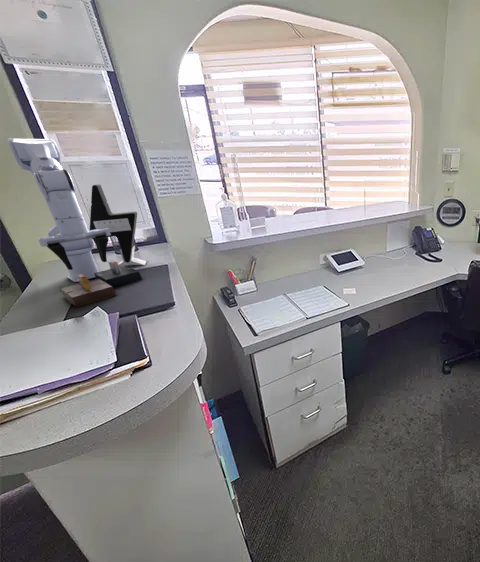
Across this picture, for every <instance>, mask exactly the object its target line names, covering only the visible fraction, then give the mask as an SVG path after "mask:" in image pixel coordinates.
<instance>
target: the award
mask: <svg viewBox="0 0 480 562" xmlns="http://www.w3.org/2000/svg"><path fill="white" fill-rule="evenodd" d="M90 196H91V197H90V199H91V200H90V204H91V205H90V215H89V230H96V229H104V228H108V229H109V231H110V234H111V235H109V236H107V237H108V238H111V237H116V239H117V241H118V244H119V248H120V249H119V253H120V255H121V256H120V257H121V259H122V260H120V261H119V262H117V263H118V265H119V267H122V266H128V265H135V266H145V265H146V263H147V261H146V260H144V259H141V258H136V257H135V249H136V245H135V238H136V236H135V235H136V228H137V221H138V212H137V211H128V212H127V211H126V212H118V213H113V212H112V211H111V208H110V206H109V203H108V200H107V198H106V195H105V193H104V190H103V188H102V185H101V184H99V183H98V184H93V185H92V186H91V195H90ZM92 240H93V238H92Z"/></svg>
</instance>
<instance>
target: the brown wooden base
mask: <svg viewBox="0 0 480 562" xmlns="http://www.w3.org/2000/svg"><path fill="white" fill-rule="evenodd" d="M88 281H89V283H90V285H91V289H87V290H86V289H85V288H83V287H82V286H81V285H80V283H78V284H74V285H70V286H69V285H68V286H66V287H62V288H60V292H61V293H62V295H63V297H64V299H65V300H67V302H69V303H70V304H72V305H73V306H74V307H75V308H79V307H83V306H87V305H89V304H92V303H97V302H100V301H102V300H107V299H110V298H113V297H116V296H117V295H116V293H115V289H114V287H112V286H110V285H109V284H107V283H106V282H103V281H101V280H100V279H97V280H96V279H94V280H93V279H92V280H88Z"/></svg>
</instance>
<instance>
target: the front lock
mask: <svg viewBox="0 0 480 562" xmlns="http://www.w3.org/2000/svg"><path fill="white" fill-rule="evenodd" d="M77 277H78V280H79V284H80V285H81V286H82V287H83V288H85V289H86V290H87V289H91V285H90V283H89V281H90V280H89V279H88V278H87V277H86V276H84V275H82V274H80V275H77Z"/></svg>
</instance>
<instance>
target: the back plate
mask: <svg viewBox="0 0 480 562" xmlns="http://www.w3.org/2000/svg"><path fill="white" fill-rule="evenodd" d="M119 268H120V270H121V273H118V274H117V273H115V272H112V271H111V268H109V269H105V270H101V271H99V272H96V273H94V275H95V280H97V279H100V280H101V281H103V282H106V283H107V284H109V285H110V286H112V287H113V288H117V287H121V286H123V285H128V284H132V283H134V282H138V281H139V282H140V281H142V280H143V278H142V274H141V273H140V270H137V269H135V268H133V267H130V266H128V265H124V266H121V267H119Z"/></svg>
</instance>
